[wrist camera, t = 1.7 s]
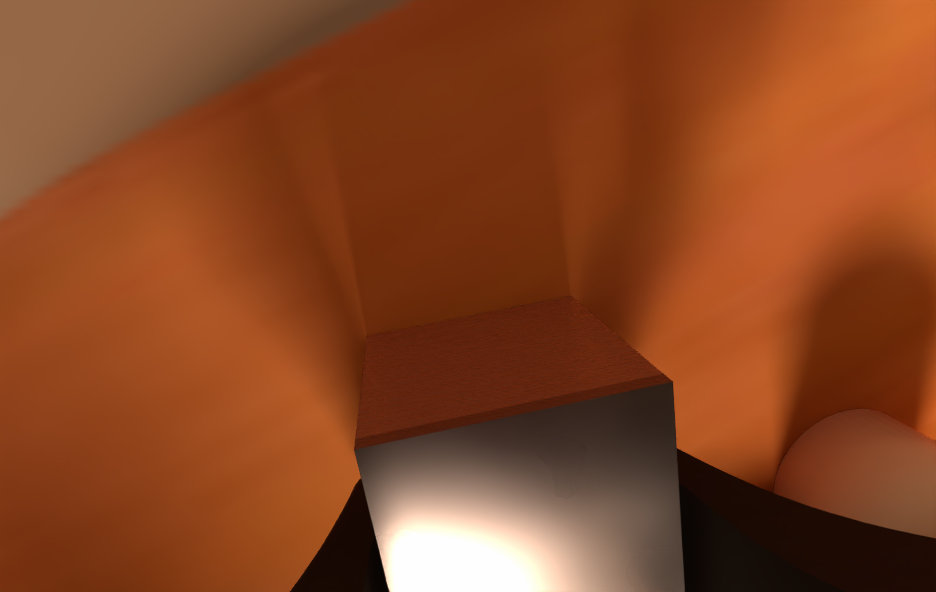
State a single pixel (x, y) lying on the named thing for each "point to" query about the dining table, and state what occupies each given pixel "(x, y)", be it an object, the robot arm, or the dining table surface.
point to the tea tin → (519, 456)
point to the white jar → (864, 471)
